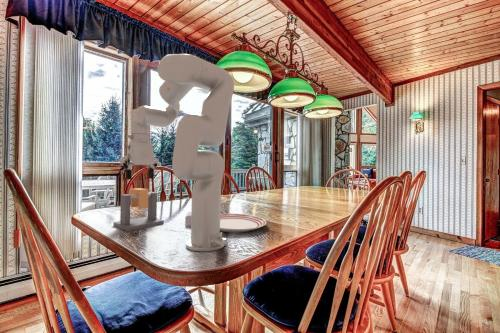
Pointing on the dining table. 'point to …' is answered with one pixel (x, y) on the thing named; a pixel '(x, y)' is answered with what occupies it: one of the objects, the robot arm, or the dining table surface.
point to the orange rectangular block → (140, 198)
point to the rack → (138, 223)
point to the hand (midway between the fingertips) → (140, 178)
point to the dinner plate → (240, 222)
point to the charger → (188, 219)
